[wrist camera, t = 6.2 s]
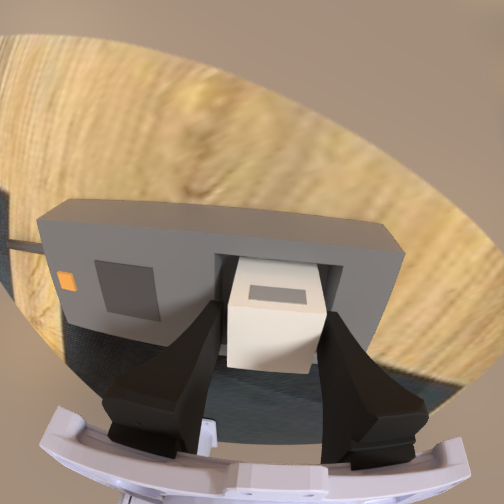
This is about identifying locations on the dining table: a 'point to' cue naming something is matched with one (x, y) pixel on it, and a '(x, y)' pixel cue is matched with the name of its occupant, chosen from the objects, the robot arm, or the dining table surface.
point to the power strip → (202, 263)
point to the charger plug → (274, 315)
